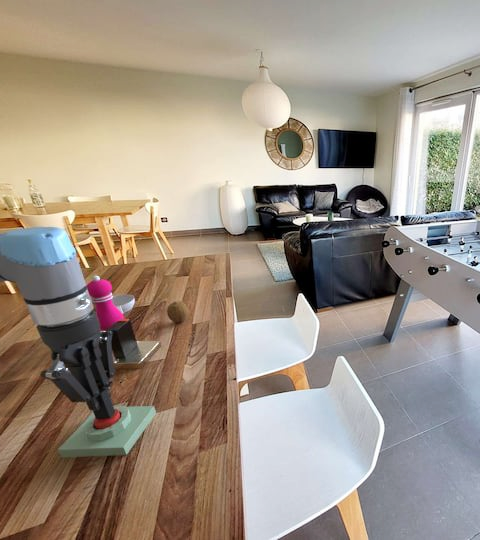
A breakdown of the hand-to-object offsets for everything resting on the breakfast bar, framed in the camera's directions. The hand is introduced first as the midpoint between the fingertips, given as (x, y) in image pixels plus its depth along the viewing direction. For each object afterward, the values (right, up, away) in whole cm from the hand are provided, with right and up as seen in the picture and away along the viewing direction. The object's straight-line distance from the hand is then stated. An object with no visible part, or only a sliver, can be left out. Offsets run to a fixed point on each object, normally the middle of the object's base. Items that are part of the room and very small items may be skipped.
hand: (105, 415), depth 59 cm
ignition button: (0, -2, +1) cm, 2 cm away
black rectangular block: (-15, +7, +23) cm, 28 cm away
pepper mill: (-29, +9, +35) cm, 46 cm away
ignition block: (0, -5, +2) cm, 5 cm away
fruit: (-11, +12, +42) cm, 45 cm away
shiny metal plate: (-15, +5, +24) cm, 29 cm away
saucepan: (-36, +14, +46) cm, 60 cm away
